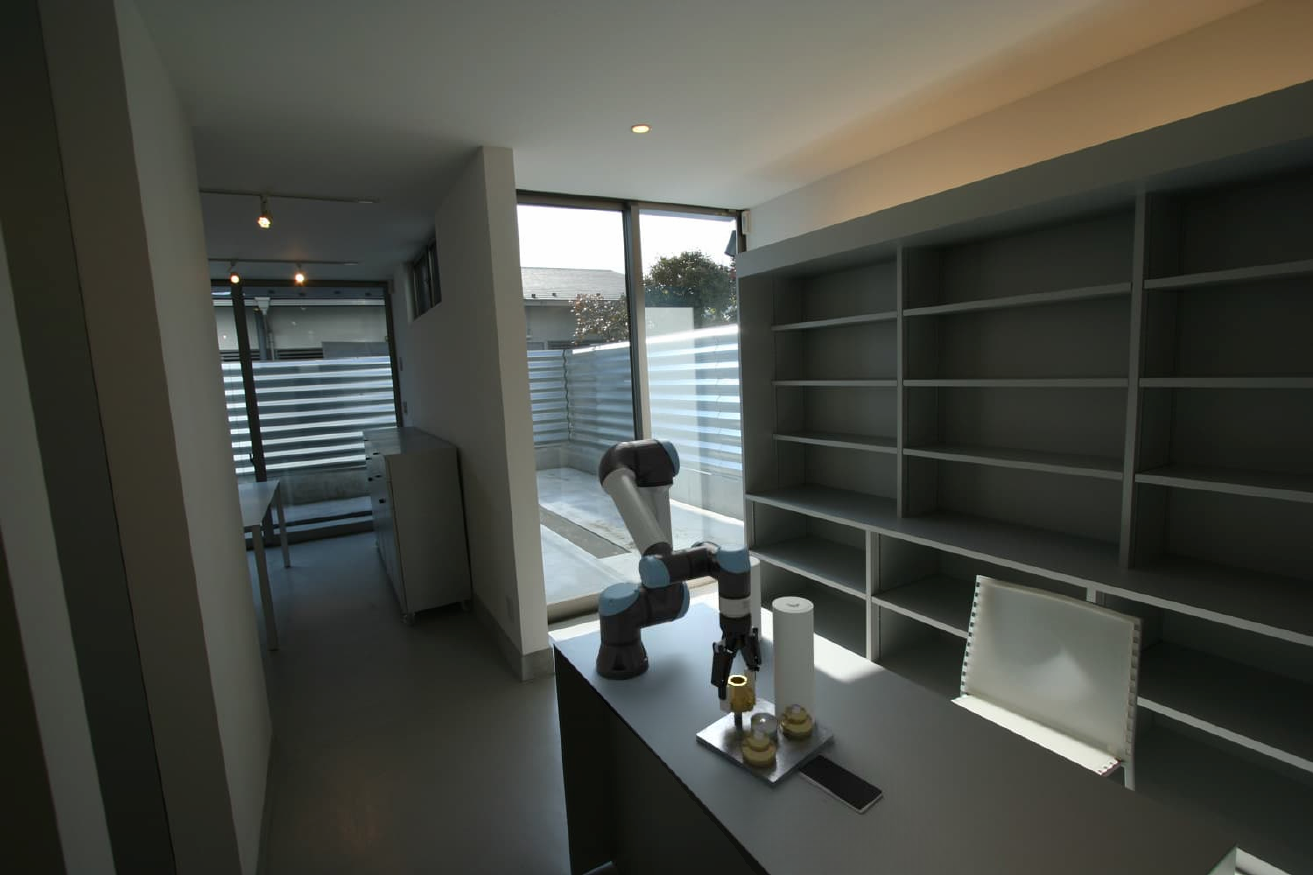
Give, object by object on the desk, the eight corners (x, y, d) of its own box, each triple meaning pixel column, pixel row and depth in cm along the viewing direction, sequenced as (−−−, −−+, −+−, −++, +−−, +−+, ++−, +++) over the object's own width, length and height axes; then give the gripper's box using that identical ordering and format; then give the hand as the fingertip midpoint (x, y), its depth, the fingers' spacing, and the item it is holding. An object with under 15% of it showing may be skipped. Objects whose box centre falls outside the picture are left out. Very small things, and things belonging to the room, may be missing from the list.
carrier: (696, 740, 137) (695, 712, 136) (757, 701, 151) (756, 675, 150) (773, 788, 120) (772, 756, 119) (833, 740, 135) (833, 711, 134)
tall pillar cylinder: (753, 648, 179) (751, 568, 176) (721, 641, 185) (718, 563, 181) (766, 634, 188) (765, 558, 184) (736, 627, 193) (734, 553, 190)
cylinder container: (816, 735, 137) (814, 611, 134) (774, 731, 139) (772, 609, 136) (813, 711, 147) (812, 595, 143) (774, 708, 148) (772, 593, 145)
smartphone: (860, 811, 113) (796, 770, 124) (860, 817, 113) (796, 775, 124) (883, 790, 118) (819, 753, 129) (883, 796, 118) (820, 758, 129)
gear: (713, 704, 141) (712, 680, 140) (736, 690, 146) (735, 667, 146) (740, 718, 135) (739, 693, 134) (762, 703, 140) (762, 679, 140)
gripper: (716, 630, 128) (719, 728, 131) (776, 602, 142) (778, 691, 145) (691, 620, 134) (695, 715, 137) (751, 594, 148) (754, 680, 150)
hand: (738, 702), depth 141 cm, fingers closed on gear, 8 cm apart
